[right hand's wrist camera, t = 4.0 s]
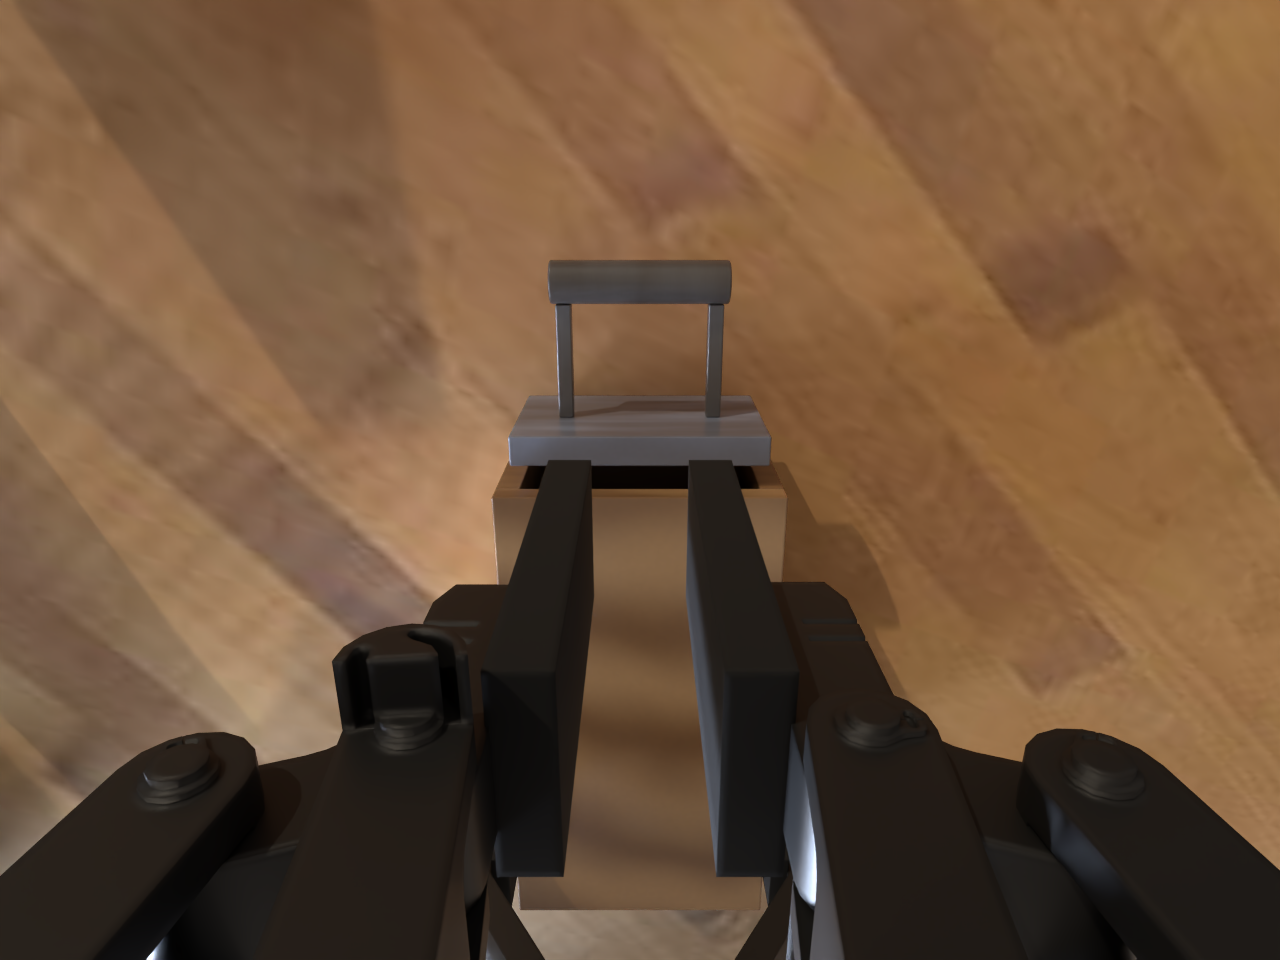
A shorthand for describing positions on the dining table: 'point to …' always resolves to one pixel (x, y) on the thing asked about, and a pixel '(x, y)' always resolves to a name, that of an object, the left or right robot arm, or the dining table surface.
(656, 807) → the cabinet
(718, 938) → the dining table surface
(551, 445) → the drawer
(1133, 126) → the dining table surface
